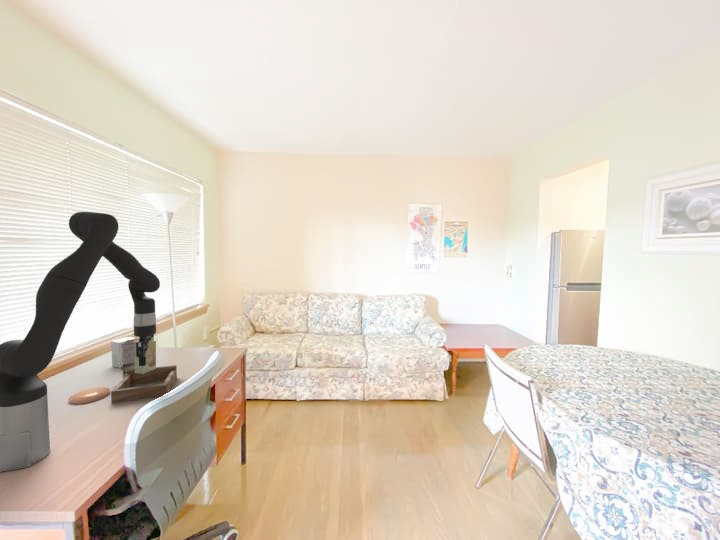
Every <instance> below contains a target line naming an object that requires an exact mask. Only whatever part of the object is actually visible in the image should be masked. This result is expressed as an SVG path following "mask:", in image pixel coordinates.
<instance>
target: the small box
mask: <svg viewBox="0 0 720 540" xmlns="http://www.w3.org/2000/svg"><path fill="white" fill-rule="evenodd" d="M133 339H137V337H132V336H127V337H123V338H118V339H114V340H111V341H110V345H111V346H110V347H111V348H110V349H111V365H112V367H113V366H115V368H117V367H119V369H122V368H123V363H122V345H123V344H124V343H125V342H126V341H127V340H133ZM121 367H122V368H121Z"/></svg>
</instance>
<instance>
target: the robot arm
mask: <svg viewBox="0 0 720 540" xmlns="http://www.w3.org/2000/svg"><path fill="white" fill-rule="evenodd" d="M68 226H69V227H68V228H69V230H70V231H71V233H72V234H73V235H74V236H75V237H76V238H78V239H79V240H80V241H82V242H81V244H80V246H79V247H78V248H77V249H76V250H74V252H72V253H71V254H69V255H68V256H67V257H65V258H63V260H60V261H59V262H58V263H56V265H54V266H53V267H52V268H51V269H49V271H48V272H47V273H46V275H45V277H44V278H43V281H41V283H40V286H39V287H38V289H37V292H36V297H35V317H34V321H33V323H32V324H31V325H32V326H31V328H30V329H29V331H28V332H27V334H26V336H25V337H24V338H23V339H12V340H7V341H4V342H2V343H0V473H3V472H2V471H4V472H8V471H15V470H19V469H25V468H29V467H31V466H32V465H34V464H36V463H38V462H39V461H41V460H42V459H44V458H45V457H47V456H48V455H49V454H50V452H51V439H50V422H49V399H48V398H49V397H48V385H47V383H46V382H45V381H43V380H42V379H41V378H40V377H39V375H38V374H40V373H42V372H43V371H44V370H45V369H47V367H48V366H49V365H50V363H51V362H52V359H53V358H54V355H55V354H56V351H57V348H58V346H59V343H60V340H61V338H62V335H63V331H64V330H65V328H66V326H67V323H68V322H69V320H70V317H71V316H72V314H73V312H74V309H75V308H76V306H77V303H78V301H80V298H81V297H82V295H83V293H84V291H85V288H86V287H87V285H88V283H89V281H90V279H91V276H92V275H93V273H94V271H95V269H96V267H97V266H98V264H99V262H100V260H101V259H102V257H103V258H104V259H106V260H107V261H108V262H109V263H110V264H112V266H113V267H114V268H115V269H116V270H117V271H118V272H119V273H120V274H121V275H122V276H123V277H124V278H125V279H127V280H128V285H127V286H128V290H129V293H130V295H131V299H132V302H133V336H134V337H135V338H137V337H138V339H139V341H138V342H136V357H139V366H145V365H146V352H147V351H148V349H149V344H150V341H152V340H154V341H155V339H154V338H155V337H154V336H155V334H156V333H157V316H156V315H157V314H156V300H155V299H154V298H152V297H150V296H147V295H146V293H155V292H157V291H158V290H159V289H160V287H161V283H160V278H158V276H157V275H156V274H155V273H153V272H152V271H151V270H149V269H147V268H146V267H144V266H143V265H142V264H141V263H140V262H139V260H138V259H137V258H136V257H135V255H133V254H132V253H131V252H129V251H128V250H126V249H125V248H123V247H122V246H119V245H118V244H117V243H115V242H114V240H115V238H116V237H117V234H118V231H119V222H118V219H117V218H116V217H115V216H113V214H109V213H104V212H95V211H77V212H75V213H73V214H72V215H71V216H70V218H69V219H68ZM144 346H146V348H145V349H144ZM141 351H142V354H141Z"/></svg>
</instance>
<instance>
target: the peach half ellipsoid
mask: <svg viewBox="0 0 720 540" xmlns="http://www.w3.org/2000/svg"><path fill="white" fill-rule="evenodd" d="M109 394H111V388H109V387H106V386H99V387H97V386H96V387H91V388H88V389H87V388H86V389H84V390H80V391H78V392H76V393H74V394H72V395H70V397H68V402H69V403H70V404H73V405H82V404H83V405H84V404H88V403H93V402H95V401H99V400H101V399H103V398H105V397H107V396H109Z"/></svg>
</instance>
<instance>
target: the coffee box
mask: <svg viewBox="0 0 720 540" xmlns="http://www.w3.org/2000/svg"><path fill="white" fill-rule="evenodd" d="M138 341H139V338H136V339H133V340H127V341H126V342H125V343H124V344H123V345H122V363H123V367H122V380H123V379H124V378H125V377H126V376H127V375H128V370H132V369H135V344H136V342H138Z"/></svg>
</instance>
